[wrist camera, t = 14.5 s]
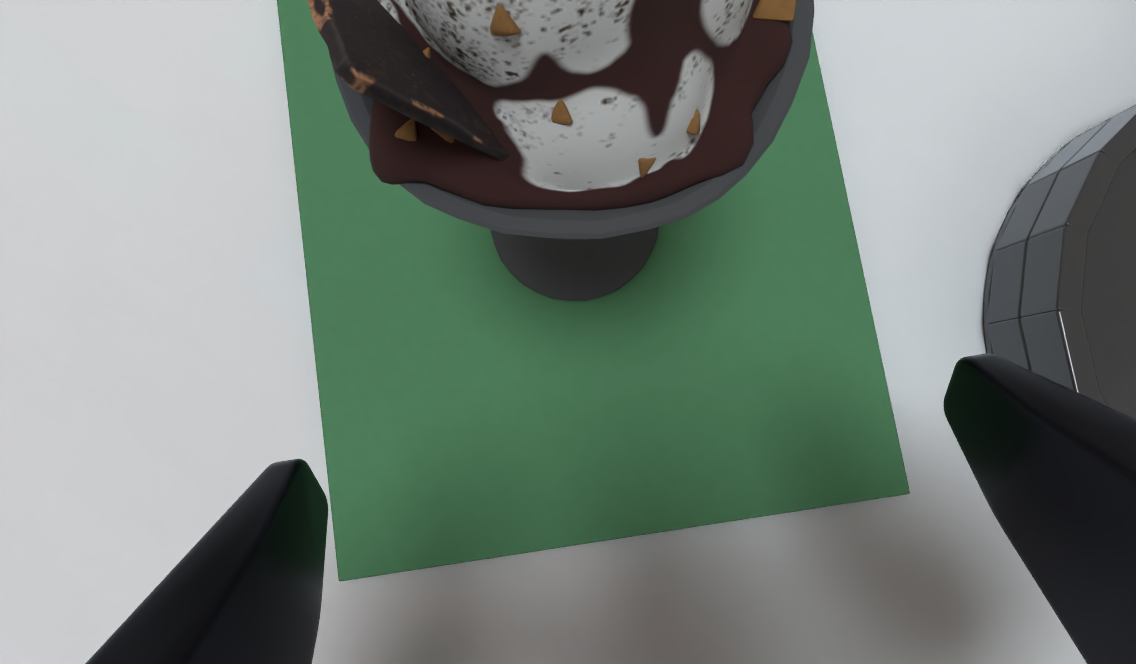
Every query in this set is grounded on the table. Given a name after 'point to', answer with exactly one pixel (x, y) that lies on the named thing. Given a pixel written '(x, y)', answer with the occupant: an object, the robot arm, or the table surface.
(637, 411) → the cloth
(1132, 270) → the skillet
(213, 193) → the table surface
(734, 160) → the sundae
